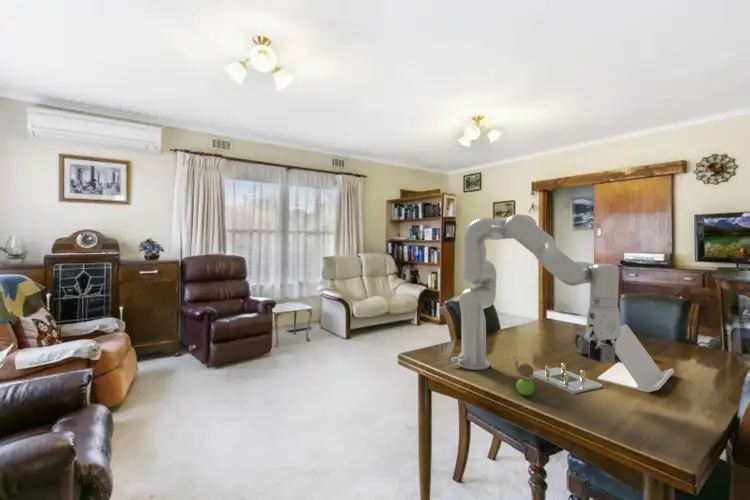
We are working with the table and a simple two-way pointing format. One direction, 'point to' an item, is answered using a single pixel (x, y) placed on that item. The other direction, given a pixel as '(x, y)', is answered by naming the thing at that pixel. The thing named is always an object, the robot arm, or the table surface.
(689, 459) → the table surface
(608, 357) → the dice cube
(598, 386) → the chassis plate
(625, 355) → the tablet stand
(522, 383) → the snail figurine
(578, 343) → the bluetooth speaker
